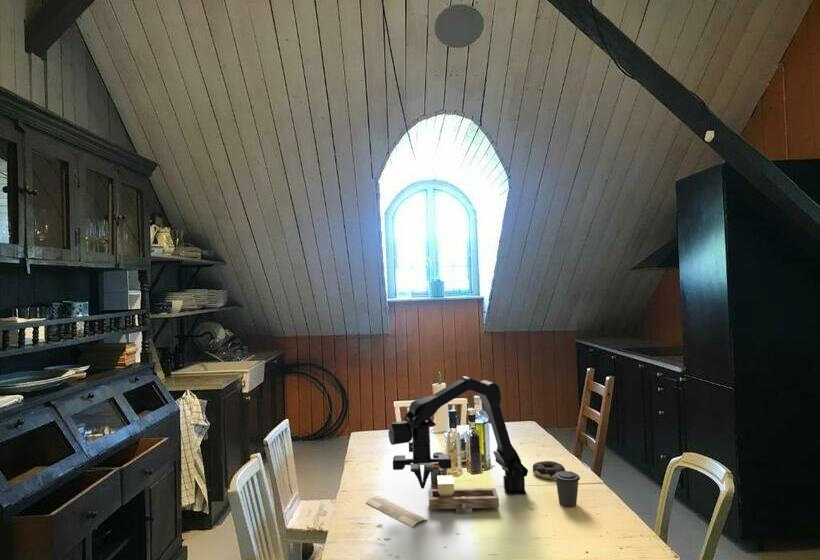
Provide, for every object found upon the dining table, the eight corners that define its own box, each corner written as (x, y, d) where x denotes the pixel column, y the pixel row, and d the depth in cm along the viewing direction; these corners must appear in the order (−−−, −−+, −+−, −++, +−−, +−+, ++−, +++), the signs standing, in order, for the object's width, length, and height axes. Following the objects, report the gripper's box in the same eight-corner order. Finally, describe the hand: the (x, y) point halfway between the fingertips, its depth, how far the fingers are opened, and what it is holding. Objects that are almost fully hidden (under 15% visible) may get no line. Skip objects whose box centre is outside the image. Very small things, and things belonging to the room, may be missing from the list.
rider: (452, 493, 167) (452, 475, 167) (454, 502, 161) (453, 483, 161) (437, 493, 167) (437, 475, 167) (438, 502, 161) (438, 484, 161)
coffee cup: (581, 500, 167) (580, 469, 167) (580, 511, 159) (579, 479, 159) (555, 497, 170) (554, 467, 169) (554, 508, 162) (553, 476, 162)
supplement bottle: (446, 489, 179) (445, 457, 179) (429, 488, 180) (428, 456, 180) (448, 482, 184) (447, 451, 184) (432, 481, 186) (431, 450, 186)
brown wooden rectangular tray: (495, 500, 168) (494, 486, 168) (499, 513, 159) (498, 498, 159) (428, 502, 169) (428, 488, 169) (429, 514, 160) (429, 500, 160)
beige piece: (427, 523, 156) (427, 517, 156) (410, 531, 151) (410, 525, 151) (380, 499, 173) (379, 494, 173) (363, 506, 169) (363, 501, 169)
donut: (559, 483, 181) (559, 472, 181) (527, 476, 188) (527, 466, 188) (568, 472, 191) (568, 462, 191) (538, 467, 197) (537, 456, 197)
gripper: (448, 431, 172) (450, 477, 172) (393, 433, 172) (395, 479, 172) (450, 442, 161) (452, 491, 161) (391, 444, 161) (393, 492, 161)
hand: (422, 488), depth 164 cm, fingers closed
